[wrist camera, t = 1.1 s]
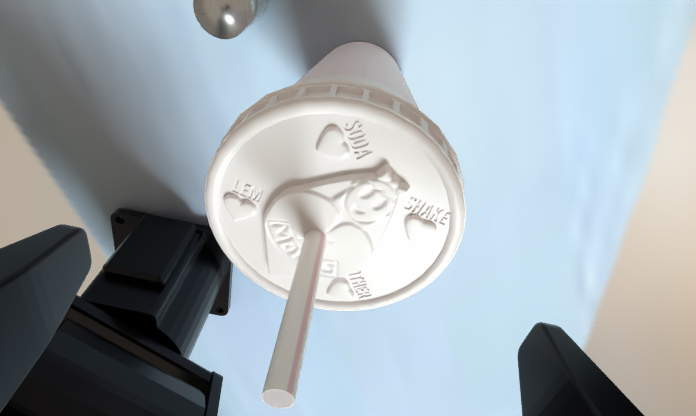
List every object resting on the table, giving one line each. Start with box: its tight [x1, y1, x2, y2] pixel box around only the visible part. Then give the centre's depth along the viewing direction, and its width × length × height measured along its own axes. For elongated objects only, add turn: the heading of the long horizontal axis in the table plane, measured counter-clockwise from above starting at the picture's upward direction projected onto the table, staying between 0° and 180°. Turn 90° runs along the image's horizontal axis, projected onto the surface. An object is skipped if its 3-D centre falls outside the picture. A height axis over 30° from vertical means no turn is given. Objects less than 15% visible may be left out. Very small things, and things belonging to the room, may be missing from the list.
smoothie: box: [205, 42, 466, 408], centre depth 13 cm, size 6×6×14 cm
